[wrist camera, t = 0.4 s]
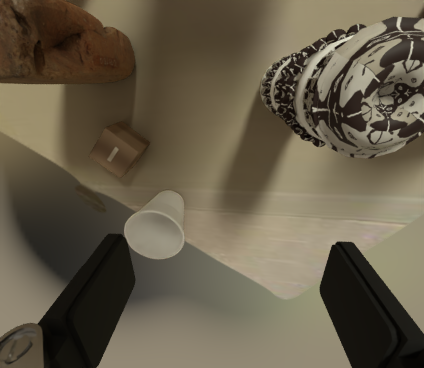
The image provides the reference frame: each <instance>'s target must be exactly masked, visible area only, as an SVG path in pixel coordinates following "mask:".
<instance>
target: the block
mask: <svg viewBox="0 0 424 368" xmlns="http://www.w3.org/2000/svg"><path fill="white" fill-rule="evenodd" d="M134 65H135V56H134V51H133V48H132V46H131V43H130V41H129V39H128V37H127V36H126V35H125V34H123V33H122V32H120V31H119V30H117V29H115V28H113V27H103V25H102V23H101V22H100V21H99V20H98V19H96V18H95V17H94V16H92V15H91V14H89V13H88V12H86V11H85V10H83V9H81V8H80V7H78V6H76V5H74V4H71V3H69V2H67V1H65V0H0V83H14V84H92V83H107V82H114V81H118V80H123V79H125V78H126V77H128V76H129V75H130V74H131V72H132V71H133V68H134Z"/></svg>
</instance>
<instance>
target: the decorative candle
mask: <svg viewBox="0 0 424 368" xmlns="http://www.w3.org/2000/svg"><path fill="white" fill-rule="evenodd" d="M350 35H351V36H350ZM260 94H261V98H262V102H263V103H264V104H265V106H266V107H267V108H268V110H269V111H270V112H273V113H274V114H275V115H276V116H278V117H280V118H282V119H283V120H285V122H286V124H287V125H288V126H290V127H291V129H292V130H294V132H295V133H296V134H297V135H300V137H301V139H302V140H305V141H310V142H312V143H313V144H314V145H315V146H316V147H322V146H324V145H325V144H326V145H327V146H328V147H329V148H331V149H333V150H335V151H337V152H339V153H341V154H342V155H344V156H346V157H356V158H373V157H377V156H381V155H384V154H388V153H391V152H395V151H397V150H398V149H400V148H401V147H403V146H405V145H406V144H408V143H409V142H411V141H413V140H414V139H416V138H417V137H419V136H420V135H421V134H422V133H423V132H424V18H408V17H391V18H389V19H386V20H384V21H381V22H379V23H376V24H373V25H371V26H368V27H366V26H365V25H362V24H357V25H354V26H352V27H350V28H349V30H348V31H347V33H346V32H345V31H344V30H342V29H338V30H334V31H332V32H331V33H330V34H328V36H327V37H325V38H321V39H319V40H318V41H316V42H314V43H313V44H312V45H311V46H308V47H306V48H304V49H302V50H301V51H300V52H298V53H293V54H291V55H288V56H285V57H283V58H282V59H281V60H278V61H276V62H275V63H273V64H272V65H271V66H270V67H269V68H268V69H267V70H266V72H265V74H264V76H263V78H262V80H261V87H260Z"/></svg>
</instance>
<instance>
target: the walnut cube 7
mask: <svg viewBox="0 0 424 368" xmlns="http://www.w3.org/2000/svg"><path fill="white" fill-rule="evenodd" d="M149 144H150V142H149V141H147V140H146V139H145V138H143V137H142V136H141V135H139V134H138V133H137V132H136V131H134V130H133V129H132V128H130V127H129V126H128V125H126V124H125V123H124V122H122V121H121V122H119V123H116V124H114V125H111V126H108V127H106V128H105V129H104V131H103V133H102V134H101V136H100V138H99V139H98V141H97V143H96V144H95V146H94V148H93V150H92V151H91V153H90V155H89V157H90V158H92V159H93V160H95V161H96V162H98V163H99V164H100V165H102V166H103V167H105V168H106V169H108V170H109V171H111V172H112V173H113V174H115V175H116V176H118V177H119V178H121V177H122V176H124V175H125V174H126V173H127V172H128V171H129V170H130V169H131V168H132V167H133V166H134V165H135V164H136V162H137V161H138V159H139V158H140V157H141V155H142V154H143V152H144V151H145V150H146V148H147V147H148V145H149Z"/></svg>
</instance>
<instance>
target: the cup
mask: <svg viewBox="0 0 424 368" xmlns="http://www.w3.org/2000/svg"><path fill="white" fill-rule="evenodd" d="M124 234H125V238H126V239H127V243H128V244H129V245H130V247H131V248H132V249H133V250H134V251H136V252H137V253H139V254H141V255H143V256H144V257H148V258H151V259H167V258H170V257H172V256H174V255H176V254H177V253H178V252H179V251H180V250H181V249H182V247H183V244H184V240H185V238H184V200H183V198H182V197H181V196H180V195H179V194H178V193H176V192H174V191H170V190H165V191H162V192H160V193H158V194H157V195H156V196H155V197H154V198H153V199H152V200H151V201H149V202H148V203H147V204H146V205H145V206H144V207H143V208H142V209H140V210H139V211H138V212H137V213H135V214H133V215H132V216H131V217H130V218H129V219H128V220H127V222H126V224H125V227H124Z"/></svg>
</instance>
